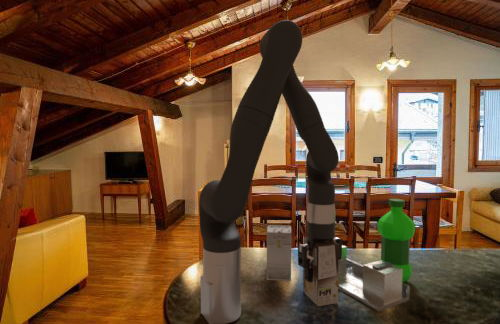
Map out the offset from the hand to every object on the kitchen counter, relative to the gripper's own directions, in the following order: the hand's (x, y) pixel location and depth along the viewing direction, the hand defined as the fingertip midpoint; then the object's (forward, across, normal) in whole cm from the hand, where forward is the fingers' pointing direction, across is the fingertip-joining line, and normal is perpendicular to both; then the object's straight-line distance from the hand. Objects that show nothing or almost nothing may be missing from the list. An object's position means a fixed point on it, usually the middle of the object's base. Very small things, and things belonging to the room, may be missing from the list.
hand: (319, 278), depth 89 cm
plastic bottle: (+6, -27, +3) cm, 28 cm away
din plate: (+5, -14, -1) cm, 15 cm away
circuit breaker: (+6, 0, -20) cm, 21 cm away
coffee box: (+6, 0, 0) cm, 6 cm away
